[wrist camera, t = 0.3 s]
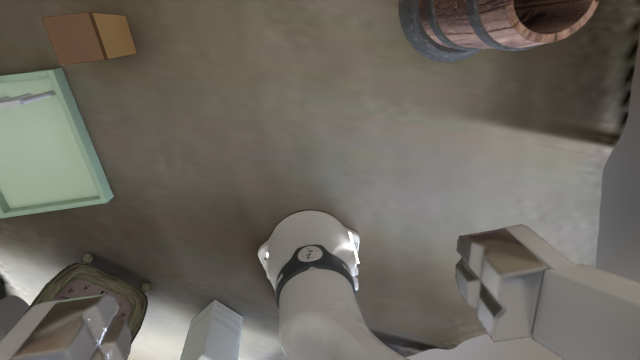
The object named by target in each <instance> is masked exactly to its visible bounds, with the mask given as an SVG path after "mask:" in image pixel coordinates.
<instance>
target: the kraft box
mask: <svg viewBox="0 0 640 360" xmlns="http://www.w3.org/2000/svg"><path fill="white" fill-rule="evenodd" d="M41 19H42V21H43V23H44V26H45V28H46V31H47V33H48V36H49V38H50V41H51V43H52V46H53V48H54V51H55V53H56V56H57V58H58V61H59V63H60V65H69V64H77V63H85V62H93V61H101V60H108V59H110V58H116V57H122V56H127V55H133V54H137V52H136V49H135V46H134V42H133V39H132V36H131V33H130V30H129V26H128V23H127V20H126V17H125V16H121V15H109V14H97V13H91V12H84V13H76V14H67V15H59V16H50V17H42V18H41Z"/></svg>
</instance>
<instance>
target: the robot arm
mask: <svg viewBox="0 0 640 360" xmlns="http://www.w3.org/2000/svg"><path fill="white" fill-rule="evenodd" d="M359 243H360V237H359V234H358V233H357V232H355V231H353V230H350V229H348V228H346V227H344V226H343V225H342V224H341V223H340V222H339V221H338V220H337V219H336V218H334V217H333V216H331V215H329V214H327V213H324V212H320V211H302V212H298V213H295V214H292V215H290V216H288V217H287V218H285V219H284V220H282V221H281V222H280V223H279V224H278V225H277V226H276V228H275V229H274V231H273V232H272V234H271V236H270V238H269V239H268V241H266V242H265V243H264V244H263V245H261V246H260V247H259V249H258V251H257V252H258V257H259V259H260V261H261V263H262V265H263V267H264V269H265V272H266V274H267V278H268V279H269V280H270V282H271V284H272V286H273V288H274V290H275V298H276V303H277V307H278V309H279V341H280V346H281V349H282V351H283V353H284V355H285V356H286V358H287V359H288V360H409V359H407V358H405V357H403V356H401V355H399V354H398V353H396V352H394V351H393V350H391V349H390V348H389V347H387V346H386V345H385V344H383V343H382V342H381V341H380V340H379V339H378V338H377V337H376V336H375V335H374V334H373V333H372V332H371V331H370V330H369V328H368V327H367V325H366V324H365V322H364V319H363V317H362V315H361V312H360V310H359V307H358V304H357V301H356V298H355V297H356V290H358V279H357V278H356V277H354V276H355V275H358V267H356V265H357V263H359V260H358V257H357V256H358V250H359ZM457 252H458V253H459V254H460V255H461V257H462V258H461V259H460V260H459V262H458V263H457V264H456V274H455V277H456V281H457V286H458V289H459V291H460V293H461V296H462V297H463V299H464V300H465V302H466V303H467V305H469V306H471V307H473V308H475V309H477V310H478V314H477V320H478V321H479V322H480V324H481V325H482V327H483V328H484V330H485V331H486V332H487V334H488V335H489V337H490V338H491V340H492V341H493V342H501V341H507V340H515V339H521V338H528V337H532V339H533V340H534V341H536V342H537V343H539V344H540V345H542V346H544V347H545V348H547V349H548V350H550V351H551V352H553V353H554V354H556V355H558V356H559V357H561V358H562V359H564V360H640V283H638V282H636V281H633V280H630V279H627V278H623V277H621V276H618V275H615V274H611V273H609V272H606V271H603V270H599V269H597V268H594V267H591V266H588V265H585V264H578V265H575V264H574V263H573V262H572V261H570V260H569V259H568V258H567V257H565V256H564V255H563V254H561V253H560V252H559V251H558V250H556V249H555V248H554V247H553V246H551V245H550V244H549V243H548V242H546V241H545V240H544V239H542V238H541V237H540V236H539V235H537V234H536V233H535V232H534V231H532V230H531V229H530V228H529V227H527V226H524V225H521V224H520V225H515V226H510V227H504V228H500V229H498V230H492V231H486V232H480V233H474V234H468V235H462V236H459V239H458V241H457ZM265 257H266V258H265ZM119 307H120V306H119V304H118V302H117V300H116V298H115V296H114V295H112V294H109V293H104V294H97V295H90V296H83V297H76V298H69V299H63V300H56V301H50V302H43V303H39V304H37V305H35V306H33V307H31V308H30V310H29V311H28V312H27V313H26V314H25V315H24V316H23V317H22V319H21V320H20V321H19V322H18V323H17V324H16V325H15V327H14V328H13V329H12V330H11V331H10V332H9V333H8V334H7V335H6V336H5V338H4V339H3V340H2V341H1V342H0V360H127V358H128V356H129V354H130V349H131V341H132V337H131V331H130V327H129V325H128V323H127V321H126V320H125V319H123V318H121V317H120V316H118V315H116V314H117V312H118V309H119Z"/></svg>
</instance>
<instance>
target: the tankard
mask: <svg viewBox="0 0 640 360" xmlns="http://www.w3.org/2000/svg"><path fill="white" fill-rule="evenodd" d="M599 1H600V0H399V16H400V20H401V25H402V28H403V31H404V33H405V35H406V38H407V39H408V41H409V42H410V43H411V45H412V46H413V47H414V48H415V49H416V50H417V51H418V52H419V53H420V54H422V55H424V56H425V57H427V58H429V59H432V60H435V61H439V62H453V61H460V60H462V59H465V58H468V57H470V56H472V55H474V54H475V53H477V52H479V51H480V50H481V49H483V48H496V49H499V50H509V51H520V50H527V49H531V48H533V47H536V46H539V45H541V44H545V43H550V42H555V41H558V40H561V39H564V38H566V37H568V36H570V35H571V34H573V33H575V32H576V31H577V30H578V29H580V28H581V27H582V26H583V25H584V24H585V23H586V22H587V21H588V20H589V19H590V18H591V16H592V15H593V13H594V11H595V9H596V8H597V6H598V3H599Z"/></svg>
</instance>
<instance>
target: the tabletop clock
mask: <svg viewBox="0 0 640 360" xmlns="http://www.w3.org/2000/svg"><path fill="white" fill-rule="evenodd" d="M92 259H93V256H92V255H91V254H85V255H83V257H82V258H81V260H82V262H83V263H84V264H83V263H77V262H76V263H74V264H72V265H69V266H68V267H66V268H65V269H63V270H62V271H60V272H59V273H58V274H57V275H56V276H55V277H54V278H53V279H52V280H51V281H50V282H48V283H47V284H46V285H45V287H44V288H43V289H42V291H41V292H40V293H39V295H38V296H37V297H36V298H35V300H34V301H33V303H32V304H31V305H30V307H29V308H28V310H27V311H26V312H25V314H26V313H27V312H28V311H29V310H30V308H31V307H33V306H35V305H37V304H39V303H43V302H50V301H56V300H63V299H69V298H76V297H83V296H90V295H97V294H104V293H109V294H112V295H114V296H115V298H116V300H117V302H118V304H119V306H120V307H119V309H118V312H117V314H116V315H118V316H120V317H121V318H123V319H125V320H126V321H127V323H128V325H129V327H130V331H131V337H132V341H131V344H132V342H133V340H134V339H135V337H136V335H137V333H138V332H139V330H140V328H141V325H142V323H143V320H144V317H145V314H146V311H147V305H148V300H147V296H146V295H145V294H144V293H143V292H147V291H148V290H149V289H150V285H149V284H148V283H143V284H142V285H141V286H140V289H138V288H136V287H134V286H133V285H131V284H129V283H127V282H126V281H124V280H122V279H120V278H119V277H117V276H115V275H112V274H110V273H108V272H105V271H103V270H101V269H98V268H96V267H94V266H91V265H88V263H90V262H91V261H92ZM25 314H24V315H25ZM24 315H23V316H24ZM21 319H22V318H21Z"/></svg>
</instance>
